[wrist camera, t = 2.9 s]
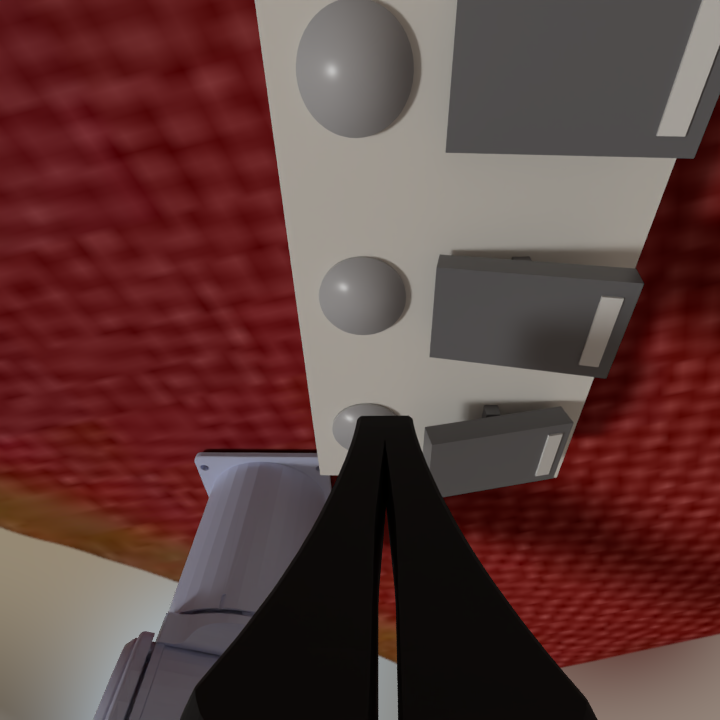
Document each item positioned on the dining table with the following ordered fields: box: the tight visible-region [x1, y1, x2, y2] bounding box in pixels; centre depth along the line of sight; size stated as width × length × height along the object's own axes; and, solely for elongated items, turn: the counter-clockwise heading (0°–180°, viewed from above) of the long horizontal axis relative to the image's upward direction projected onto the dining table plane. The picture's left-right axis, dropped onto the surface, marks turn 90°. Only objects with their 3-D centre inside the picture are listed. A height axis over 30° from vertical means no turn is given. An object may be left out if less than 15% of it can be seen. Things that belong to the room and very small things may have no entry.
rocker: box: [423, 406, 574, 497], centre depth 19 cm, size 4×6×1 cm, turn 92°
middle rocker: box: [429, 254, 644, 379], centre depth 15 cm, size 4×6×1 cm, turn 92°
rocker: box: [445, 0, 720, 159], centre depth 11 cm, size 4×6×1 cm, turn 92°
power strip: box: [255, 0, 676, 477], centre depth 17 cm, size 21×12×4 cm, turn 2°
